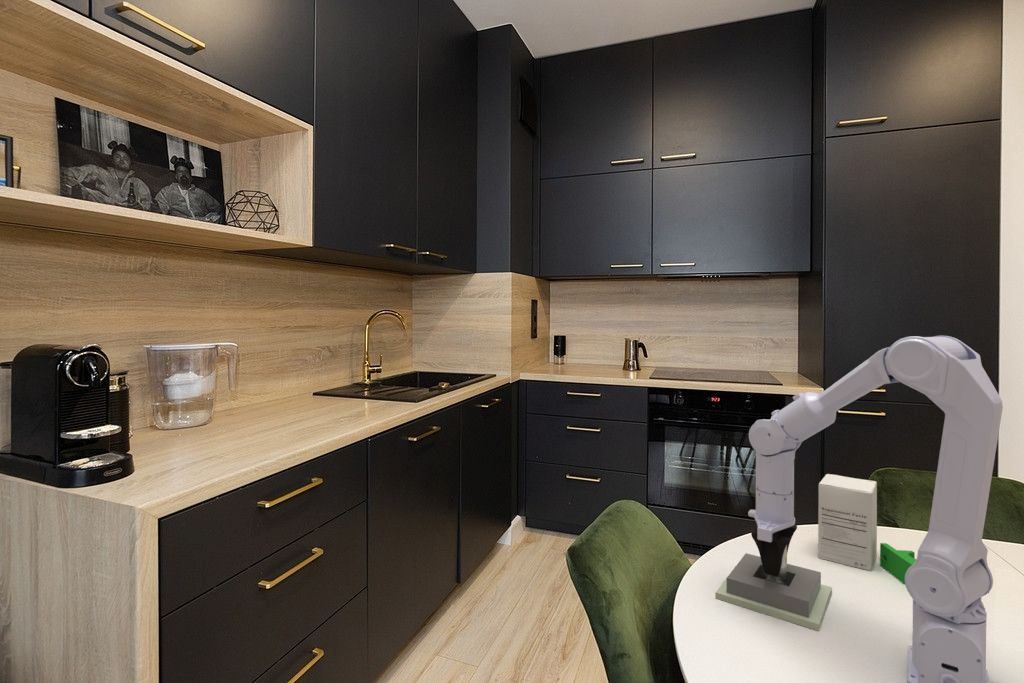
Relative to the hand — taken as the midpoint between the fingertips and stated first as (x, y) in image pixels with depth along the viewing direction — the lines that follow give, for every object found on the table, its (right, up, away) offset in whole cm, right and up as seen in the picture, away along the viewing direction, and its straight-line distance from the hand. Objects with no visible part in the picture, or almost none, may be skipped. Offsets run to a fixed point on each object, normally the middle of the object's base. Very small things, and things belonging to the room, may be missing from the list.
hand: (774, 569), depth 85 cm
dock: (0, -4, 0) cm, 4 cm away
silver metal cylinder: (0, -3, 0) cm, 3 cm away
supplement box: (+22, -4, +14) cm, 27 cm away
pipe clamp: (+27, -5, +5) cm, 28 cm away
